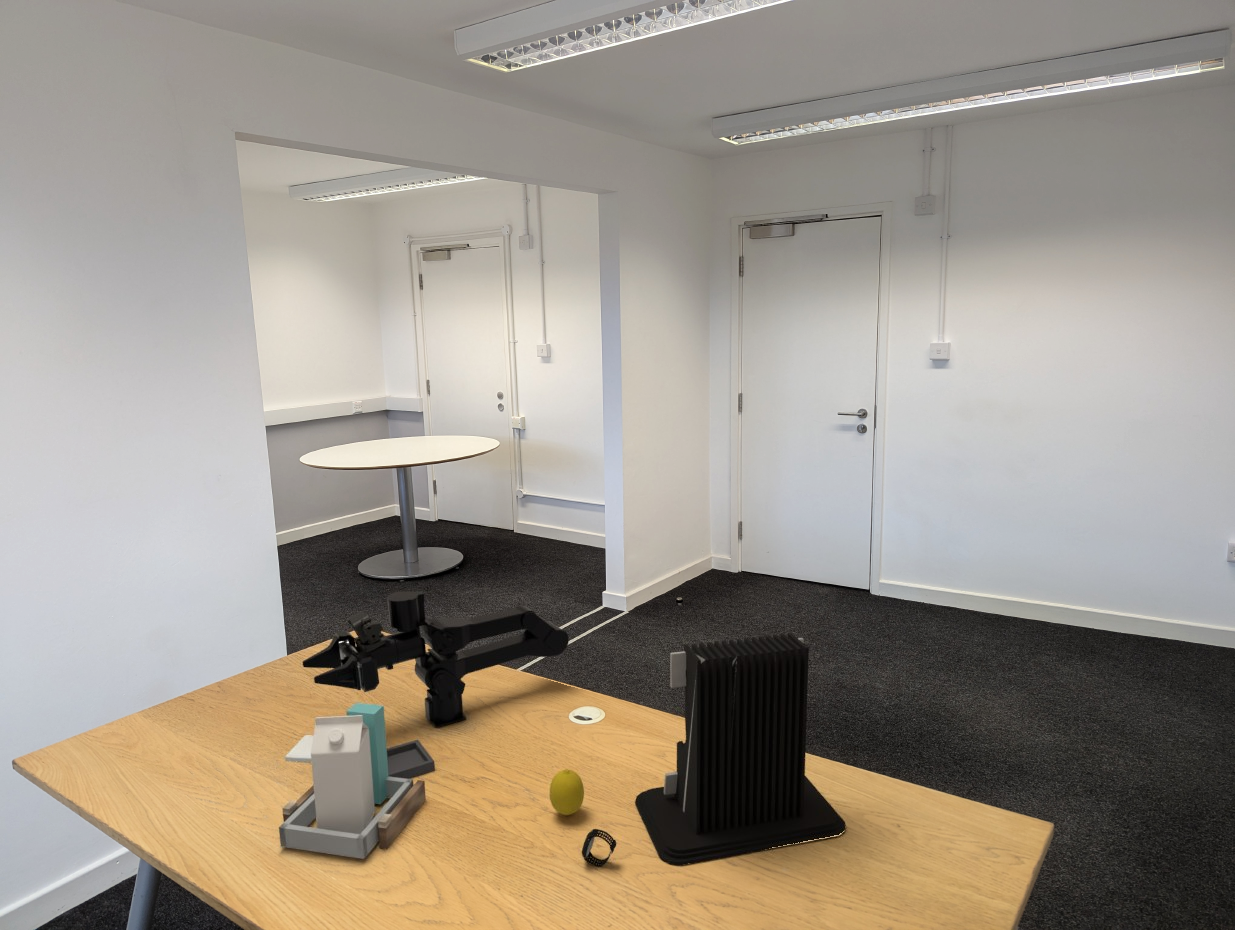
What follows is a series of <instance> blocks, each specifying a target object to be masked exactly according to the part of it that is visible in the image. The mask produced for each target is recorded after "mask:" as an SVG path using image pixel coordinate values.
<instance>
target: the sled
mask: <svg viewBox="0 0 1235 930" xmlns="http://www.w3.org/2000/svg"><path fill="white" fill-rule="evenodd" d="M345 712H346V716H355V715H362V717H363V722H364V723H365V724H366V726H367V727H368V728H369V738H370V752H371V765H372V779H373V793H374V805H375V804H377V805H382V804H383V802H385V800H386V799H387V798H388V801H387V802H386V803H385V805H384V806H383V807H382V808H381V809H380V810H379V811H378V813H376V815H374V817H373V819H372V821H371V822H370V823H369V825H368V826H367V827H366V828H365V829H364V830H363V832H362V833H361V834H354V833H347V832H340V831H333V830H326V829H319V828H317V827H310V826H309V825H310V824H311V823H312V822H313V821H314V820H315V819H316V808H315V796H314V794H313V795H312V796H311V797H310V798H309V799H308V800H307V801H305V802H304V803H303V804H302V805H301V806H300V807H299V808H298V809H297V810H296V811H295V812H294V813H293V814H292V815H291V816H290V817H289V818H288V819H287V820H286V821H285V822H284V821H283V823H282V824H281V825H280V826H278V833H279V842H280V844H279V845H280V847H282V848H288V849H294V850H296V849H297V850H302V851H308V852H315V853H323V854H328V855H329V854H330V855H335V856H341V857H347V858H348V857H349V858H356V859H362V860H365V858H366V857H367V856H368V855H369V854H370V852H371V851H372V850H373V848H375V846H376V845H377V844H378V843H379V842H380V841H379V827H378V821H379V820H380V819H381V817H382V816H383V815H384V814H390V813H391V812H392V811H393V809H394V808H395V807H396V806H397V805H398V803H399V802H400V801H401V800H402V799H403V797H404V796H405V795H406V794H407V793H408V791H409V790H410V789H411V788H412V787H413V785H414V779H412V778H409V779H404V778H396V777H388V762H387V737H386V720H385V718H386V717H385V706H384V705H382V704H373V703H361V702H355V703H354V704H353V705H352V706H351V707H349V709H347V710H346V711H345ZM389 798H390V799H389Z"/></svg>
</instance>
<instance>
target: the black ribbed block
mask: <svg viewBox="0 0 1235 930" xmlns="http://www.w3.org/2000/svg"><path fill="white" fill-rule="evenodd" d="M750 638H751V640H750ZM750 638H748V637H744V638H743V640H742V639H741V638H737V639H736V641H735V640H734V639H729V641H727V640H723V639H722V640H721V643H719V641H717V640H716V641H714V642H712V641H707V642H706V645H705V643H704V642H699V646H698V645H697V644H696V643H691V647H690V646H689V645H688V644H683V651H675V652H670V654H669V655H670V656H669V657H670V660H669V661H670V662H669V663H670V665H669V667H670V670H669V671H670V672H669V673H670V674H669V675H670V676H669V677H670V681H669V683H670V685H669V687H670V689H673V688H682V687H684V721H685V722H684V723H685V728H684V729H685V742H684V741H683V740H679V741H678V742H676V771H672V772H665V774H664V783H663V786H659V787H654V788H653V787H652V788H648V789H646V790H644V791H641V792H640V793H639V794H638V795H636V797H635V800H634V805H635V807H636V810H637V811H638V815H639V816H640V819H641V820H642V822H643V825H644V827H645V829H646V832H647V833H648V836H649V838H650V841H651V843H652V844H653V847H654V849H655V852H656V853H657V855H658V858H659V859H660V860H661V861H663V862H665V863H667V864H668V865H672V864H673V865H674V866H680V865H681V866H684V865H683V864H686V865H689V864H688V863H692V864H696V863H695V862H697V863H702V862H701V861H703V862H707V861H706V860H709V861H713V860H719V858H720V859H724V858H725V859H726V858H730V857H735V856H736V857H737V856H740V855H746V854H752V852H753V853H758V852H762V851H761V850H764V851H766V850H765V849H769V848H772V847H778V846H783V845H787V844H793V843H794V844H795V843H798V842H799V843H800V842H803V841H808V840H814V839H819V838H825V837H830V836H834V835H839V834H840V833H842V832H843V831H844V830H845V831H846V828H845V826H846V825H847V824H846V821H845V820H844V819H843V818H842V817H841V816H840V814H839V813H838V812H837V811H836V809H834V807H833V806H832V805H831V803H830V802H828V800H827V799H826V798H825V796H823V795H822V793H821V792H820V791H819V789H817V788H816V786H815V785H814V784H813V783H812V782H811V780H810V779H809V778H808V777H807V776H806V754H807V753H806V748H807V747H806V745H807V721H808V720H807V715H808V714H807V713H808V688H809V687H808V686H809V685H808V684H809V681H808V680H809V660H810V659H809V658H810V657H809V656H810V655H809V653H810V652H809V650H810V647H808V646H807V645H806V644H805V642H804V638H803V637H797V636H796V635H795V634H793V633H792V632H788V633H787V635H786V634H785V633H780V634H779V635H778V634H773V635H765V638H764V636H762V635H759V636H758V638H757V637H756V636H752V637H750ZM769 850H770V849H769ZM712 859H713V860H712Z"/></svg>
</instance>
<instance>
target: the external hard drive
mask: <svg viewBox="0 0 1235 930" xmlns="http://www.w3.org/2000/svg"><path fill="white" fill-rule="evenodd" d="M313 737H314V734H305V735H304V736H303V737H302V738H301V739H300V740H299V741H298V742H297V743H296V744H295V745H294V746H293V747H292V749H290V750H289V752H288V753H287V754H286V755H285V757H284V758H285V759H284V760H285V762H286V761H288V762H287V763H310V762H311V749H312V743H313ZM289 761H291V762H289ZM296 761H297V762H296Z"/></svg>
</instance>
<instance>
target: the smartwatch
mask: <svg viewBox="0 0 1235 930" xmlns="http://www.w3.org/2000/svg"><path fill="white" fill-rule="evenodd" d="M595 838H600V839H602V840H603V841H604V842H606V843H607V844H608V845H609V849H610V851H609V854H608V856H607V857H605V858H603V859H601V858H597V857H596V856H594V855H593V854H592V852H591V851H592V848H593V846H594V842H595ZM616 847H617V840H616V839H614V838H613V836H612V835H611V834H610V833H609V832H607V831H605V830H602V829H598V828H593V829H592V830H591V831H589V832H588V833H587V835H586V837H585V839H584V841H583V846H582V850H581V856H582V857H583V860H584V861H585V862H587V863H588V864H590V865H592V866H594V867H597V868H598V867H599V868H600V867H603V866H605V865H606V864H607V863H608V861H609V859H610V857H611V855H612V854H613V853H614V851H615V848H616Z"/></svg>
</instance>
